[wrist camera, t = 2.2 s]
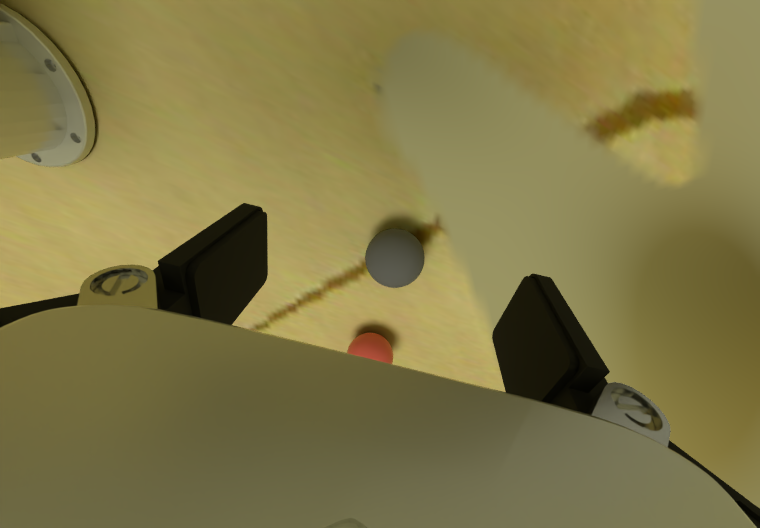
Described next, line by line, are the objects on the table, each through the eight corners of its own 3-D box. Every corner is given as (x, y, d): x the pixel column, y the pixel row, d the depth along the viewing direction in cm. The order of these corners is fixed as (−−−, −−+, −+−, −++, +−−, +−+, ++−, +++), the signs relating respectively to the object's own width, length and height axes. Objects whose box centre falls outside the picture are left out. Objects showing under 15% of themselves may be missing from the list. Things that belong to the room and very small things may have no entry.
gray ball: (374, 213, 29) (366, 240, 24) (430, 225, 29) (432, 254, 24) (365, 261, 32) (356, 292, 27) (416, 272, 32) (416, 305, 27)
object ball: (354, 318, 36) (345, 354, 32) (398, 328, 36) (396, 365, 32) (348, 349, 39) (339, 385, 35) (389, 357, 39) (386, 395, 35)
